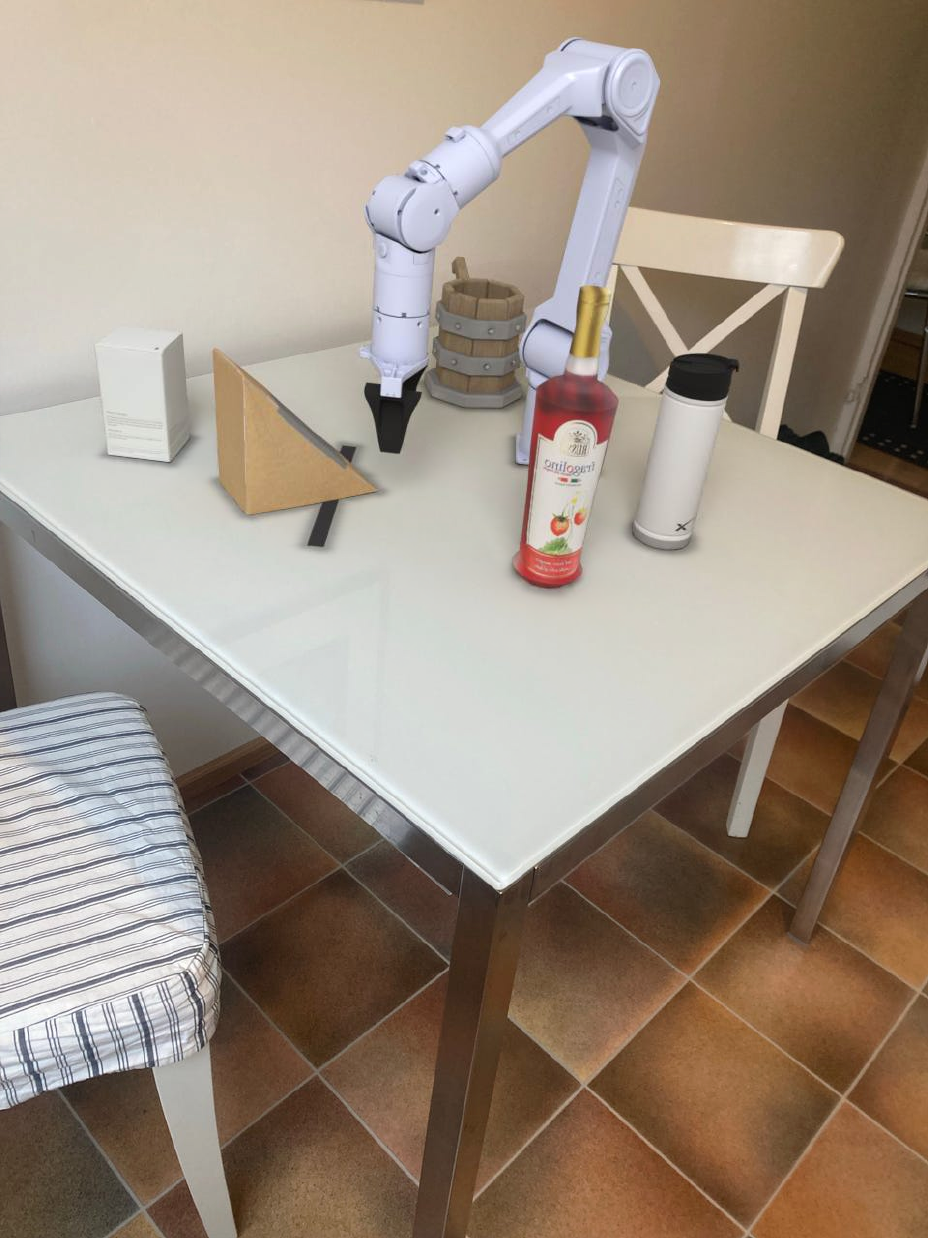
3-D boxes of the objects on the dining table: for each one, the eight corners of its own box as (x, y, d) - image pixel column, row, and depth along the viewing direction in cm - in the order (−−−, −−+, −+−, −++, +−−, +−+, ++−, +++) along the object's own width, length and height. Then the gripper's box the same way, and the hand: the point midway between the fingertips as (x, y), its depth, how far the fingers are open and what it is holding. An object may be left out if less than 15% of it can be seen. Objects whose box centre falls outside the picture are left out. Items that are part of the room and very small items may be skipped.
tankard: (528, 409, 133) (544, 297, 125) (437, 408, 130) (447, 293, 122) (492, 356, 149) (504, 254, 141) (410, 355, 146) (417, 250, 138)
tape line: (355, 447, 118) (355, 446, 118) (323, 547, 98) (323, 546, 98) (342, 445, 118) (342, 445, 118) (307, 545, 98) (307, 544, 98)
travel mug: (692, 556, 104) (741, 373, 93) (630, 544, 105) (671, 361, 93) (692, 529, 109) (739, 352, 98) (633, 517, 110) (673, 341, 99)
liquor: (578, 560, 101) (633, 282, 85) (585, 599, 95) (645, 307, 79) (507, 554, 100) (548, 273, 85) (510, 593, 94) (555, 298, 79)
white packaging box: (192, 437, 115) (185, 331, 108) (169, 464, 109) (161, 353, 102) (130, 429, 116) (120, 322, 108) (104, 455, 109) (91, 343, 102)
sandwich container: (380, 492, 109) (387, 359, 100) (247, 516, 101) (243, 376, 93) (346, 460, 114) (350, 332, 106) (218, 480, 107) (211, 345, 99)
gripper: (370, 284, 103) (365, 406, 111) (351, 327, 91) (346, 461, 99) (437, 291, 103) (427, 413, 111) (427, 336, 91) (416, 468, 99)
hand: (393, 436), depth 105 cm, fingers open, 7 cm apart
